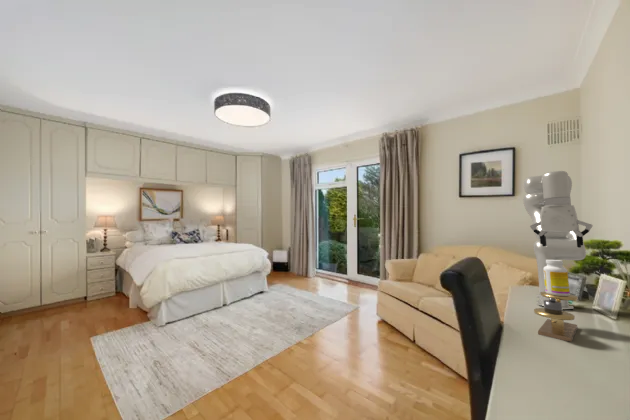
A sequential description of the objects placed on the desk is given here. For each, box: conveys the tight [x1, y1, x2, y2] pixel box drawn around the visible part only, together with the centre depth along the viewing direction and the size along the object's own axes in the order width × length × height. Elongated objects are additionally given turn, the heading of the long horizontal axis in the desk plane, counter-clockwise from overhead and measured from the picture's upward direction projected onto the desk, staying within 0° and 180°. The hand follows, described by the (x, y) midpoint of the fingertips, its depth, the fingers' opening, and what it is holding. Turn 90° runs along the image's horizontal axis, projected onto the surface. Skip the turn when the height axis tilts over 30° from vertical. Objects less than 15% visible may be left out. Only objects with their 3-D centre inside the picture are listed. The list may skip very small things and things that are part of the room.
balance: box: [533, 291, 579, 343], centre depth 88 cm, size 23×10×12 cm, turn 129°
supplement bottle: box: [543, 260, 571, 296], centre depth 93 cm, size 7×7×13 cm
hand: (561, 246), depth 95 cm, fingers open, 9 cm apart
